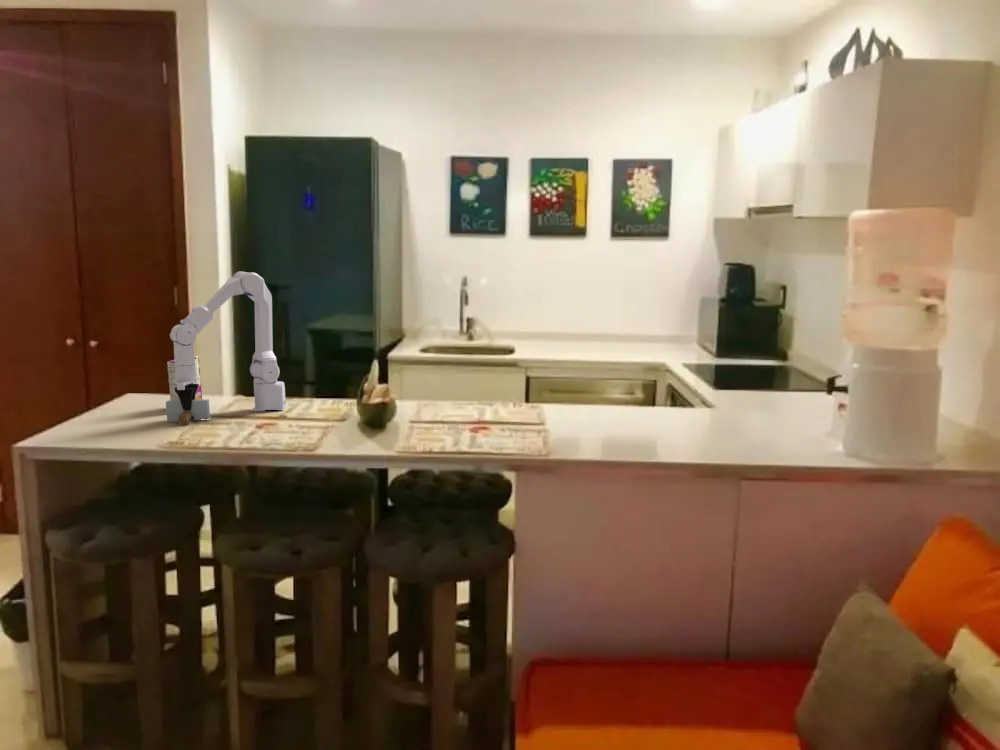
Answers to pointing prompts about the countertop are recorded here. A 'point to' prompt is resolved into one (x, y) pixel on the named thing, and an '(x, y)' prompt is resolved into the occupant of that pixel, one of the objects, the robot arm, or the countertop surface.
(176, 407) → the tapered grey panel
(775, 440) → the countertop surface
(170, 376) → the candy bar box
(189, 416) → the walnut slat
